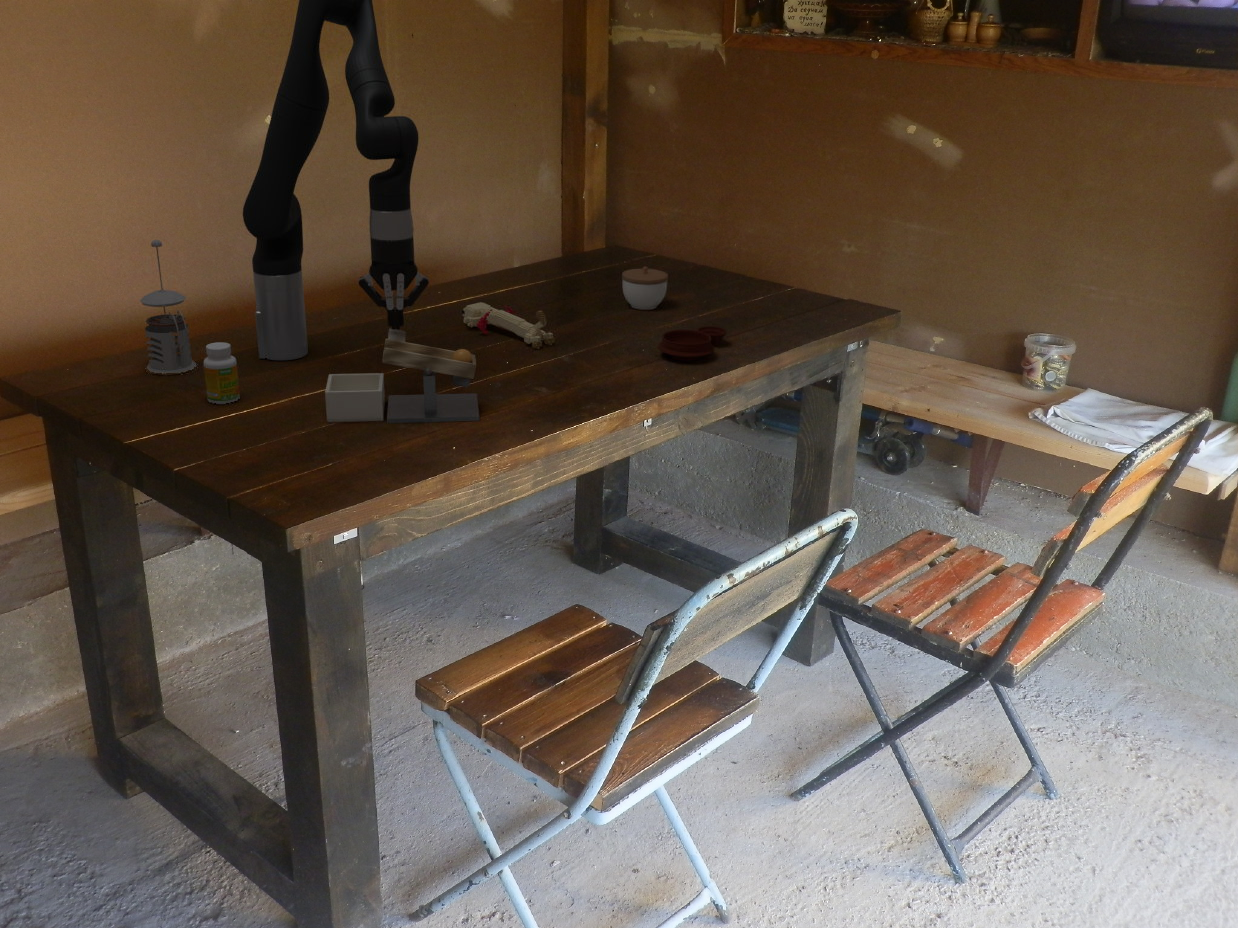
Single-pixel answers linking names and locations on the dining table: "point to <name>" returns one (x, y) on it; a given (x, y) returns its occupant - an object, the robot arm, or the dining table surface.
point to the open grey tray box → (355, 397)
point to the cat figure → (508, 323)
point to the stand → (432, 406)
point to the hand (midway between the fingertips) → (396, 328)
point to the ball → (462, 356)
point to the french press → (167, 332)
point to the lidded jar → (644, 287)
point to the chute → (427, 358)
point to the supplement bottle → (221, 374)
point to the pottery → (691, 342)
